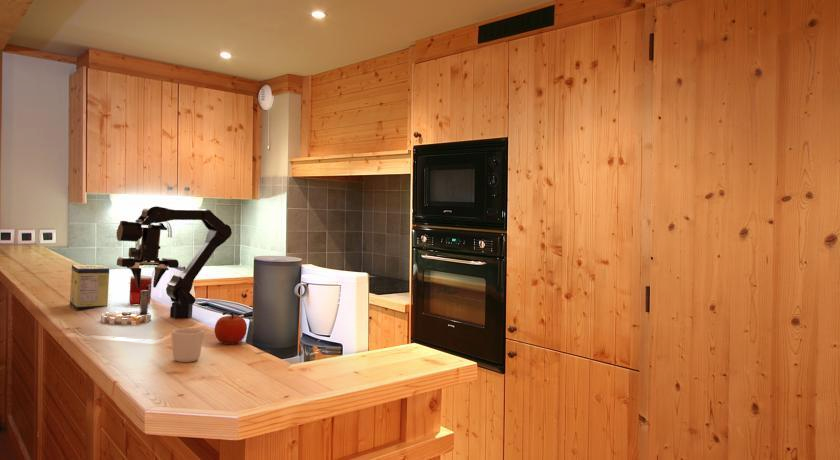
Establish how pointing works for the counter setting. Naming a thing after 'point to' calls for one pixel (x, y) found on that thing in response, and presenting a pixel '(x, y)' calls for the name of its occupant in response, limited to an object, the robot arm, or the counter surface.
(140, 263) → the robot arm
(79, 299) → the protein box
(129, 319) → the sprocket
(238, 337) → the fruit
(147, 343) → the counter surface
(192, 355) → the cup
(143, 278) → the canned food
